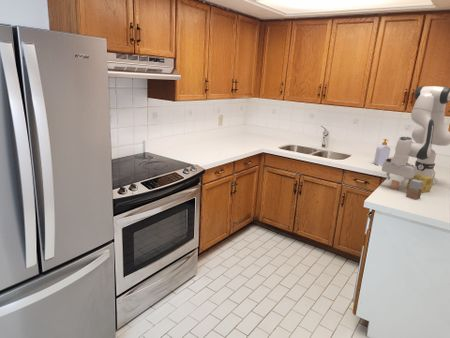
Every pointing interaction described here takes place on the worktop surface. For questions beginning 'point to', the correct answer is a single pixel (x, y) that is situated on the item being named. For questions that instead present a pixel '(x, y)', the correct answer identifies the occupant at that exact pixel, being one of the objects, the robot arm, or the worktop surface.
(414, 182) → the grey block
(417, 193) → the walnut block
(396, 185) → the peach brown rounded dome
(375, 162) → the soap bottle
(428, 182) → the cheese
